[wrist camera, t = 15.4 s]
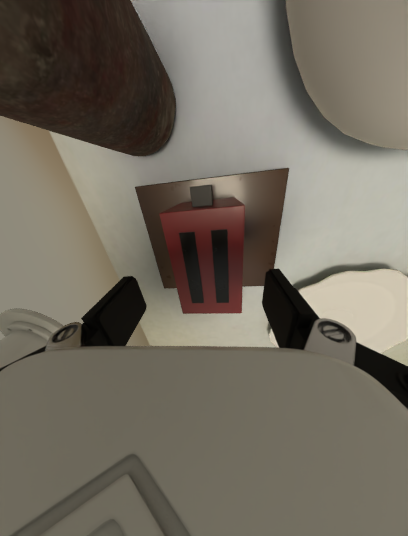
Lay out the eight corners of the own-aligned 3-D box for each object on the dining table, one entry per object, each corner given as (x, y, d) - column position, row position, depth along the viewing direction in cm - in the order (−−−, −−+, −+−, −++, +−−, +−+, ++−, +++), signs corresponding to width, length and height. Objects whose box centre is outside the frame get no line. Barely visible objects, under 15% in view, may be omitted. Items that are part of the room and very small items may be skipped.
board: (166, 284, 24) (164, 288, 23) (138, 186, 17) (134, 186, 16) (269, 281, 22) (271, 285, 21) (285, 168, 15) (289, 167, 14)
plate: (331, 239, 18) (341, 244, 16) (455, 297, 20) (473, 306, 19) (245, 335, 28) (246, 343, 27) (334, 366, 30) (339, 375, 29)
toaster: (235, 182, 15) (246, 180, 9) (234, 275, 21) (241, 314, 14) (178, 188, 16) (152, 191, 10) (193, 277, 21) (182, 314, 15)
